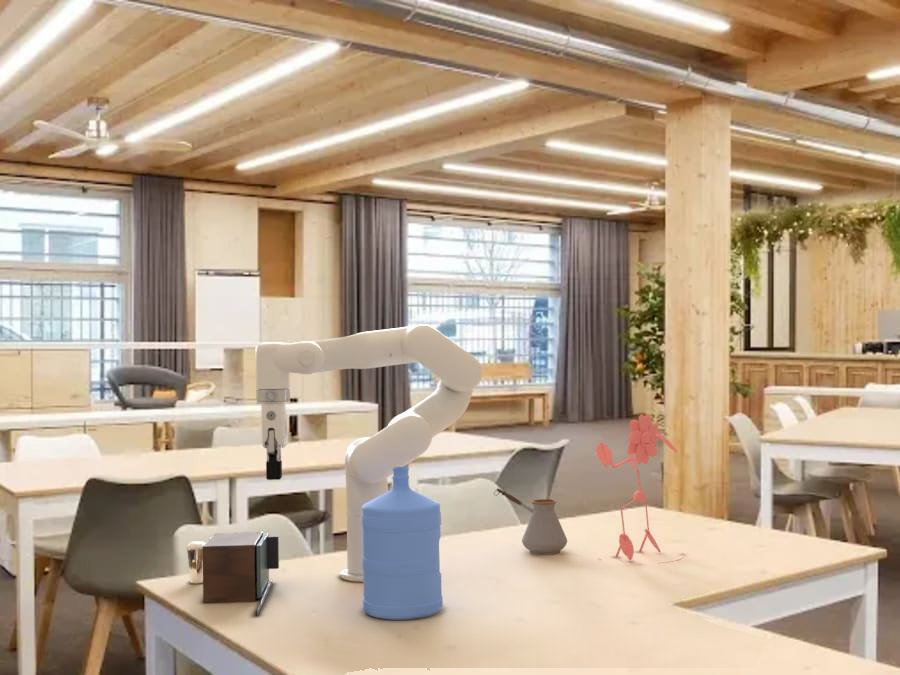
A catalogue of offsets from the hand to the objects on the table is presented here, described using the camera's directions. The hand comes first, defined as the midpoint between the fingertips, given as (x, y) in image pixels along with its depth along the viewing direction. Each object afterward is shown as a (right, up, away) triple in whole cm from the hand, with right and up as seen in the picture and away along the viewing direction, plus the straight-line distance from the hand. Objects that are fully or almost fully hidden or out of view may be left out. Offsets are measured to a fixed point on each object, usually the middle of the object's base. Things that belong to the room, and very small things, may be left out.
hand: (274, 478), depth 223 cm
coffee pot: (+60, -23, +31) cm, 71 cm away
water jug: (+30, -22, -28) cm, 47 cm away
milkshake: (-17, -24, 0) cm, 29 cm away
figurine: (+88, -22, +17) cm, 92 cm away
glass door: (+1, -22, -10) cm, 25 cm away
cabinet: (-5, -23, -17) cm, 29 cm away
